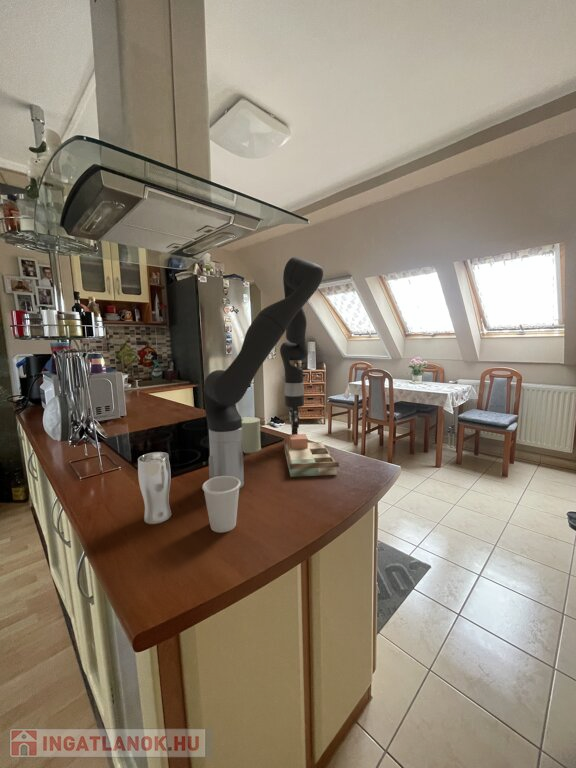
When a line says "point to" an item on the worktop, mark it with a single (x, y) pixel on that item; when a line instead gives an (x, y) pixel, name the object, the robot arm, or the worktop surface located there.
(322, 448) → the board
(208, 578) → the worktop surface
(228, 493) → the dixie cup
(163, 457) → the beer glass
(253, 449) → the can
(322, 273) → the robot arm
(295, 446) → the salmon pink square block
